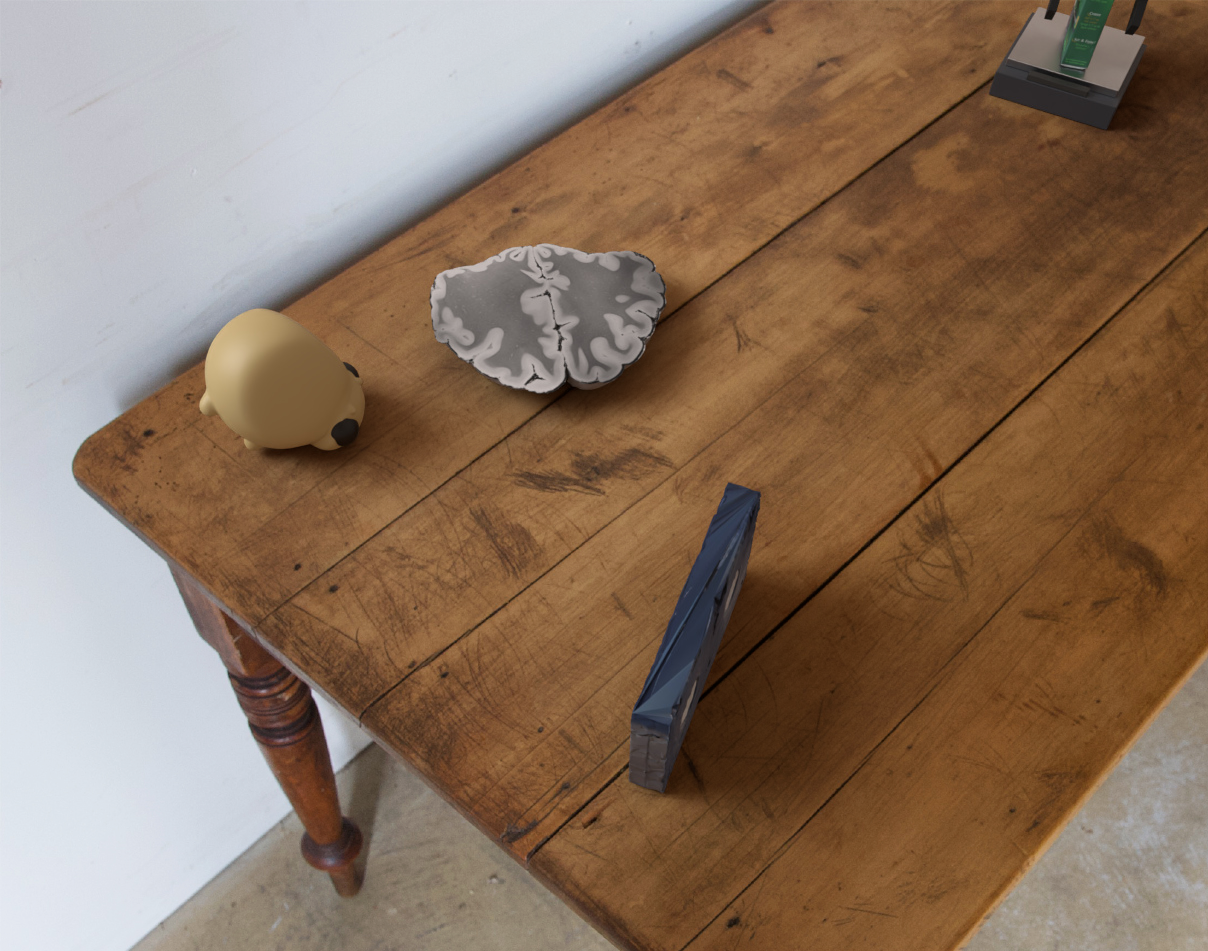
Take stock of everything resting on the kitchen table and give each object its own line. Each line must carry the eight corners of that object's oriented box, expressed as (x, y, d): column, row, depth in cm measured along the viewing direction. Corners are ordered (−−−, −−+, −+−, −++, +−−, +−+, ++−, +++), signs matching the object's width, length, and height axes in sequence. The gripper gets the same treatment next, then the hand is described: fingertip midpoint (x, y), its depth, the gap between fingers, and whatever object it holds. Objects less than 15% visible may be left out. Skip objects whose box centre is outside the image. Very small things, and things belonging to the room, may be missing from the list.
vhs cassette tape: (714, 564, 81) (728, 478, 73) (752, 578, 80) (771, 492, 72) (619, 781, 72) (622, 711, 63) (662, 797, 71) (671, 729, 63)
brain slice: (451, 433, 87) (446, 408, 85) (424, 286, 96) (420, 259, 94) (692, 397, 90) (695, 371, 87) (645, 256, 98) (646, 229, 96)
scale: (1137, 67, 114) (1150, 37, 112) (1106, 130, 109) (1120, 99, 106) (1024, 35, 117) (1034, 4, 115) (988, 94, 112) (998, 63, 109)
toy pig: (304, 500, 88) (390, 442, 82) (165, 430, 80) (249, 361, 74) (316, 404, 93) (398, 343, 87) (186, 329, 85) (267, 257, 79)
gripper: (1277, -213, 102) (1187, 54, 107) (1057, -246, 105) (981, 15, 110) (1309, -258, 94) (1211, 30, 100) (1072, -292, 98) (990, -11, 103)
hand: (1090, 22), depth 105 cm, fingers open, 7 cm apart
